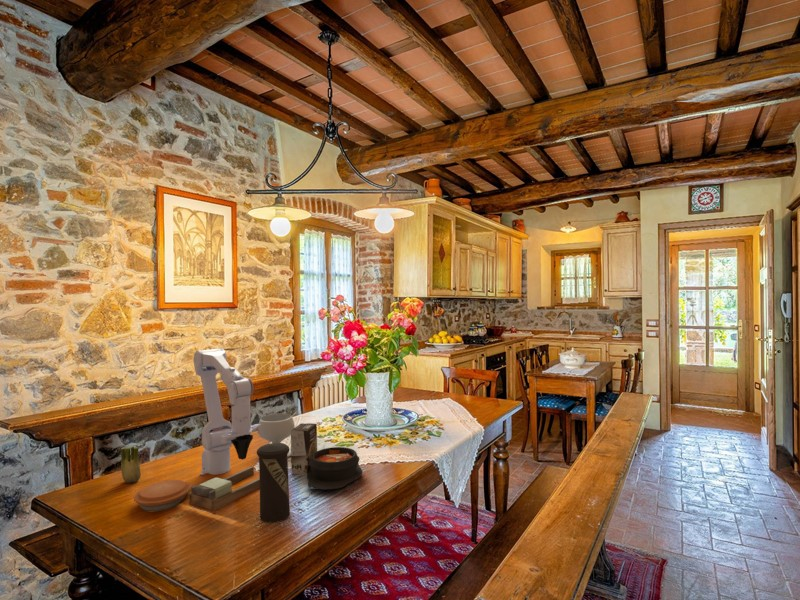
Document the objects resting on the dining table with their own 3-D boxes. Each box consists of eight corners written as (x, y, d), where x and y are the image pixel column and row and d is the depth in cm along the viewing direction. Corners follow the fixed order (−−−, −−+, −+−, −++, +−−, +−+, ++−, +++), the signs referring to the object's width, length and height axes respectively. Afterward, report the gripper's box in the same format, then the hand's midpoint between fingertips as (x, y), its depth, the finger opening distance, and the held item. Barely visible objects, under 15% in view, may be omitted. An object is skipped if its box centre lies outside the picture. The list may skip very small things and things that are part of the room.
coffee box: (308, 477, 152) (307, 430, 151) (290, 476, 153) (289, 430, 153) (318, 467, 160) (317, 423, 160) (301, 466, 162) (300, 422, 162)
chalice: (250, 458, 171) (249, 419, 171) (277, 447, 183) (276, 410, 183) (275, 464, 164) (274, 424, 164) (302, 452, 176) (301, 415, 176)
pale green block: (198, 501, 133) (198, 484, 133) (216, 492, 139) (215, 477, 139) (215, 506, 130) (214, 489, 130) (232, 497, 135) (231, 481, 135)
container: (274, 526, 120) (272, 453, 120) (251, 518, 125) (249, 447, 124) (297, 513, 127) (295, 443, 127) (275, 505, 132) (273, 438, 132)
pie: (160, 519, 126) (160, 501, 126) (121, 511, 131) (121, 494, 131) (202, 495, 140) (202, 479, 140) (165, 489, 146) (165, 473, 145)
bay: (187, 507, 132) (186, 485, 132) (251, 476, 154) (250, 457, 154) (213, 515, 127) (212, 492, 127) (275, 482, 149) (274, 463, 149)
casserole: (320, 463, 164) (319, 441, 164) (369, 465, 161) (368, 442, 161) (294, 494, 139) (294, 467, 139) (352, 496, 137) (351, 469, 137)
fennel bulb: (119, 482, 151) (118, 447, 151) (133, 477, 155) (132, 443, 155) (129, 485, 148) (128, 450, 148) (143, 480, 153) (142, 445, 153)
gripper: (231, 424, 136) (232, 468, 136) (266, 412, 148) (267, 453, 148) (215, 421, 139) (217, 464, 139) (251, 410, 152) (252, 449, 152)
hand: (242, 458), depth 144 cm, fingers closed
